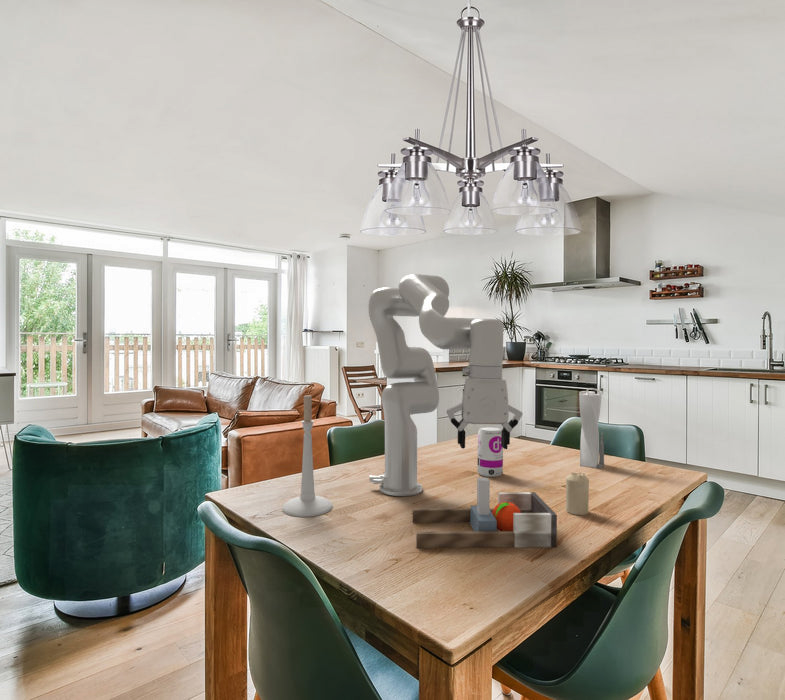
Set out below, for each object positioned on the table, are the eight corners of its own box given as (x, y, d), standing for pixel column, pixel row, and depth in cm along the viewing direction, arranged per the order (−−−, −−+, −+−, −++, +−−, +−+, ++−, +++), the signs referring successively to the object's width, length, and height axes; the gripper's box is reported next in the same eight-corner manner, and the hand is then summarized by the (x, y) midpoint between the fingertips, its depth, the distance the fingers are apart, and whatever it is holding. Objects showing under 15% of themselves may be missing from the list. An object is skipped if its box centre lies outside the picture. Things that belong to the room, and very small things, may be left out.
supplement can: (507, 476, 160) (508, 430, 159) (485, 478, 157) (486, 431, 156) (493, 469, 167) (494, 425, 167) (472, 472, 164) (473, 427, 164)
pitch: (416, 547, 105) (416, 515, 105) (412, 520, 120) (412, 492, 120) (556, 547, 105) (556, 514, 105) (534, 520, 121) (534, 492, 121)
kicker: (478, 540, 108) (478, 485, 107) (470, 523, 118) (470, 473, 117) (496, 540, 108) (497, 485, 108) (486, 523, 118) (487, 473, 118)
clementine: (508, 542, 108) (508, 510, 108) (482, 533, 113) (482, 502, 113) (528, 533, 113) (528, 502, 113) (502, 524, 118) (503, 495, 118)
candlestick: (279, 503, 133) (279, 392, 132) (326, 497, 137) (326, 390, 137) (286, 519, 121) (286, 397, 120) (337, 513, 125) (337, 395, 125)
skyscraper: (600, 470, 168) (601, 388, 167) (575, 467, 172) (577, 387, 172) (604, 465, 175) (605, 386, 174) (580, 462, 179) (581, 385, 179)
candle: (582, 507, 130) (583, 470, 130) (592, 515, 125) (592, 476, 124) (562, 507, 130) (562, 470, 130) (570, 515, 124) (571, 476, 124)
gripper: (449, 374, 108) (447, 451, 109) (527, 375, 108) (525, 452, 109) (445, 371, 116) (443, 443, 116) (518, 372, 116) (516, 444, 117)
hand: (483, 447), depth 113 cm, fingers open, 9 cm apart
